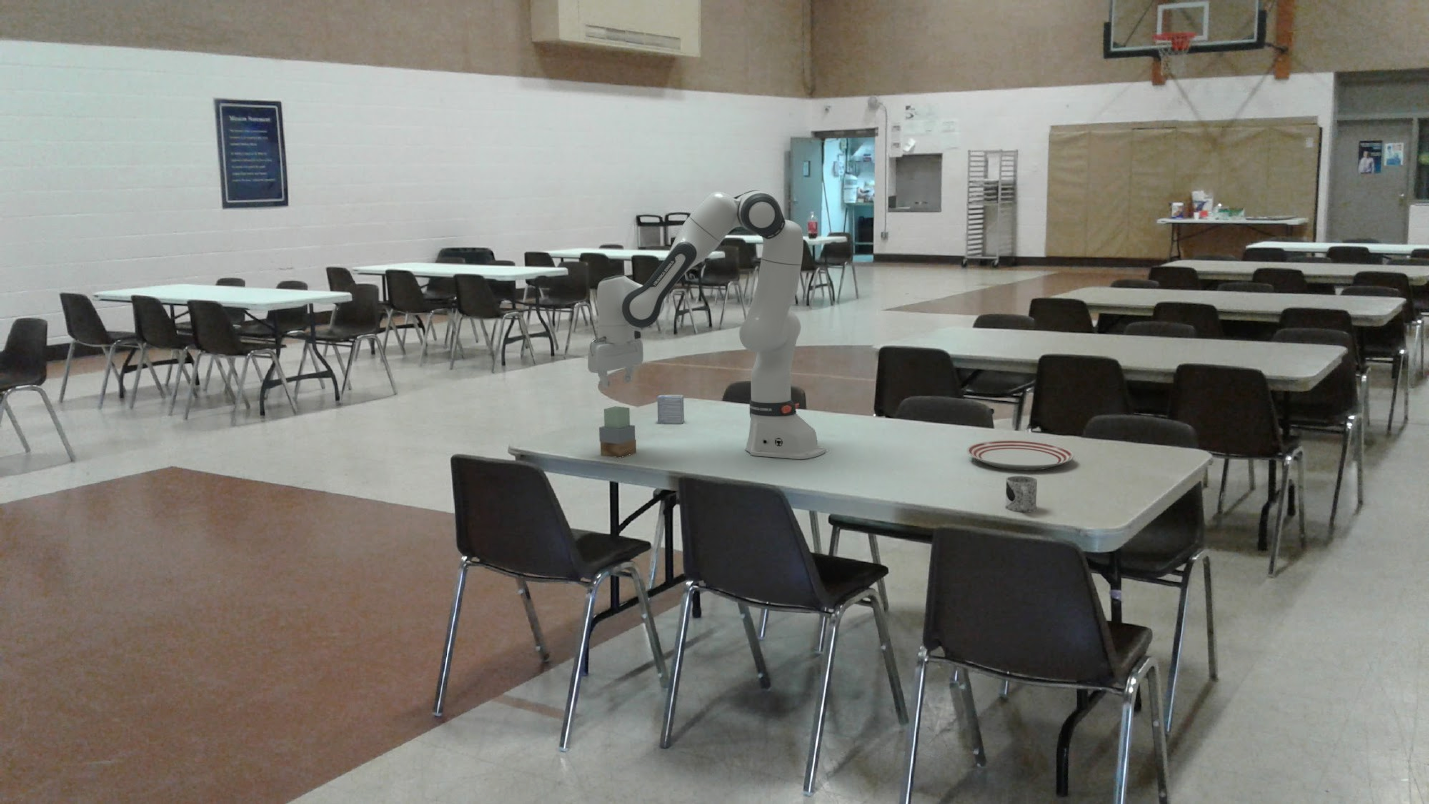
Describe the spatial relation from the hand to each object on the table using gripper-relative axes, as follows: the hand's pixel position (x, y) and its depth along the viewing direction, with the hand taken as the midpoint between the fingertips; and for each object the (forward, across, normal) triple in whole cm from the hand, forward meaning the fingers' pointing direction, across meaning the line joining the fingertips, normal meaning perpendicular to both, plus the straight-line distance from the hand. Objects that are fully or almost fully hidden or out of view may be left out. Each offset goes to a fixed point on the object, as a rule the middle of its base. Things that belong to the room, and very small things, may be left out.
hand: (616, 385), depth 319 cm
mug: (+22, +1, -114) cm, 116 cm away
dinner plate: (+22, +47, -97) cm, 110 cm away
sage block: (+12, 0, 0) cm, 12 cm away
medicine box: (+19, +44, +15) cm, 50 cm away
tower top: (+15, -1, 0) cm, 16 cm away
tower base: (+20, 0, 0) cm, 20 cm away
